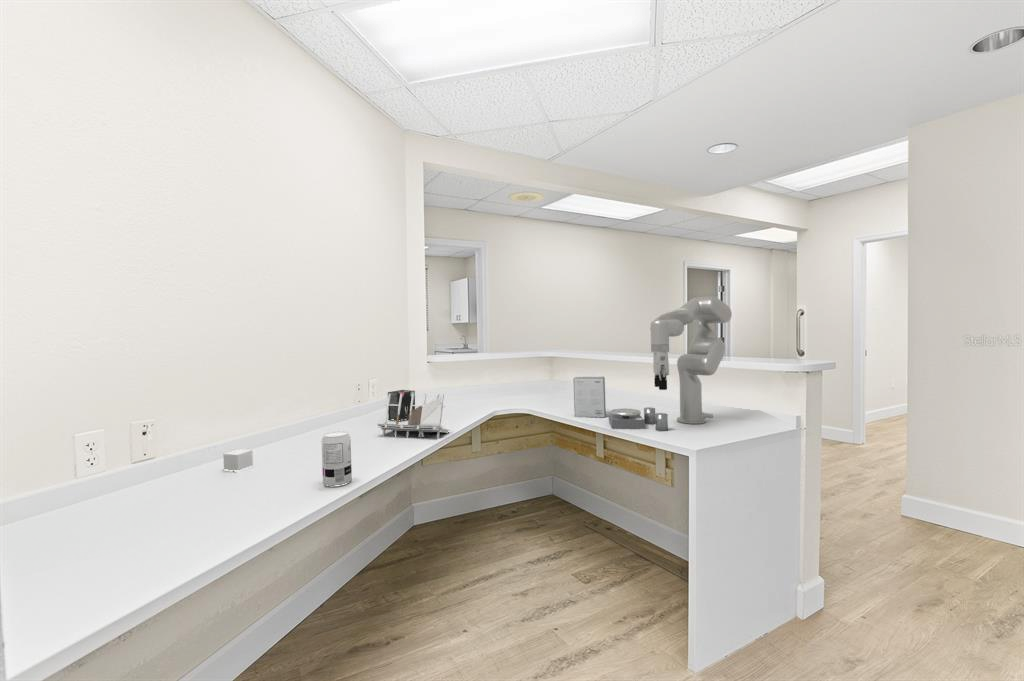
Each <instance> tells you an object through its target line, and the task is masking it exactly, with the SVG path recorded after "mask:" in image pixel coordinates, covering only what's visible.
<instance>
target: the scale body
mask: <svg viewBox="0 0 1024 681" xmlns="http://www.w3.org/2000/svg"><path fill="white" fill-rule="evenodd" d="M608 423H609V426H610V428H611V429H612V430H644V429H645V423H644V417H642V415H641V414H640V415H636V416H629V417H622V416H619V415H614V414H612V413H609V414H608Z"/></svg>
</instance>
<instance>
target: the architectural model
mask: <svg viewBox="0 0 1024 681" xmlns="http://www.w3.org/2000/svg"><path fill="white" fill-rule="evenodd" d="M390 397H391V394H390V393H389V395H388V394H387V403H385V404H384V406H386V409H385V416H384V421H383V423H377V426H378V428H380V430H382V435H383V434H385V435H386V431H392V430H395V431H394V435H397V436H398V432H406V436H409V437H410V431H418V432H417V433H418V438H419V437H420V436H421V437H425V433H432V432H437V434H436V438H437V437H439V438H440V434H441V433H440V432H443V433H442V434H448V433H447V432H448V431H450V432H451V430H449V429H447V428H443V426H442V425H441V424H442V423H441V422H442V417H443V408H445V405H444V397H445V396H444V394H441V395H440V394H436V396H435V398H434V399H432V400H431V401H429V402H427V401H426V399H427V394H426V393H425V394H423V400H422V401H423V402H422V404H421V405H420V404H415V405H413V400H414V394H412V398H411V406H410V413H409V420H407V424H399V422H400V421H399V415H400V408H401V401H402V394H400V399H399V405H396V404H389V403H390ZM426 402H427V403H426ZM389 406H398V413H397V420H396V421H395V422H396V423H388V418H389V417H388V410H389ZM413 406H415V409H414V410H412V408H413Z"/></svg>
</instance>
